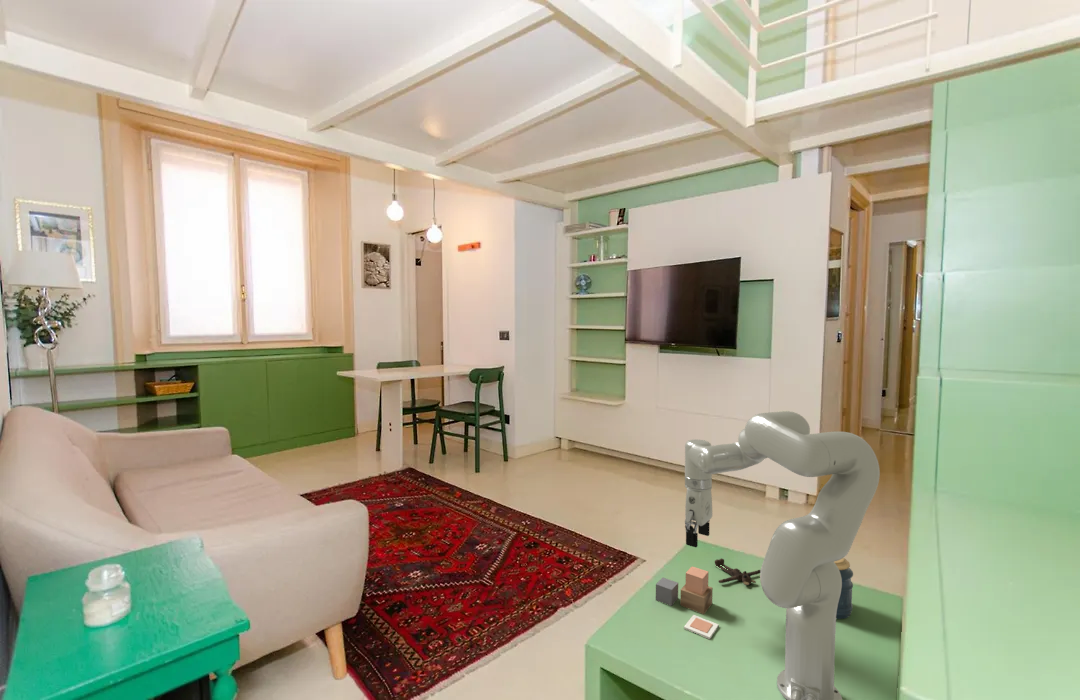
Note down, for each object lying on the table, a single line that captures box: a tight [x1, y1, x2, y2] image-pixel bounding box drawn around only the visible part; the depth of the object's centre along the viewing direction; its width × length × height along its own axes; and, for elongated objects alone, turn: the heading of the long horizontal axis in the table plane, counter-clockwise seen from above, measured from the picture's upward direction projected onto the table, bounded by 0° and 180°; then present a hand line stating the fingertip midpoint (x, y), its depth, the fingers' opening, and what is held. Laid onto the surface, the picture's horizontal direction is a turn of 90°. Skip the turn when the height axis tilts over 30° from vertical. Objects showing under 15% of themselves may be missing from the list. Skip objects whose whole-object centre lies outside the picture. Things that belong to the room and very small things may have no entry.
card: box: [683, 614, 720, 640], centre depth 127 cm, size 7×7×1 cm
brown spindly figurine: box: [714, 558, 761, 586], centre depth 154 cm, size 18×4×14 cm
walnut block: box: [679, 583, 713, 615], centre depth 137 cm, size 7×7×5 cm
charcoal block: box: [655, 577, 679, 607], centre depth 140 cm, size 5×5×5 cm
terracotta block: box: [685, 566, 709, 595], centre depth 137 cm, size 5×5×5 cm
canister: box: [834, 557, 854, 620], centre depth 136 cm, size 13×13×18 cm
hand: (697, 540), depth 137 cm, fingers open, 9 cm apart
